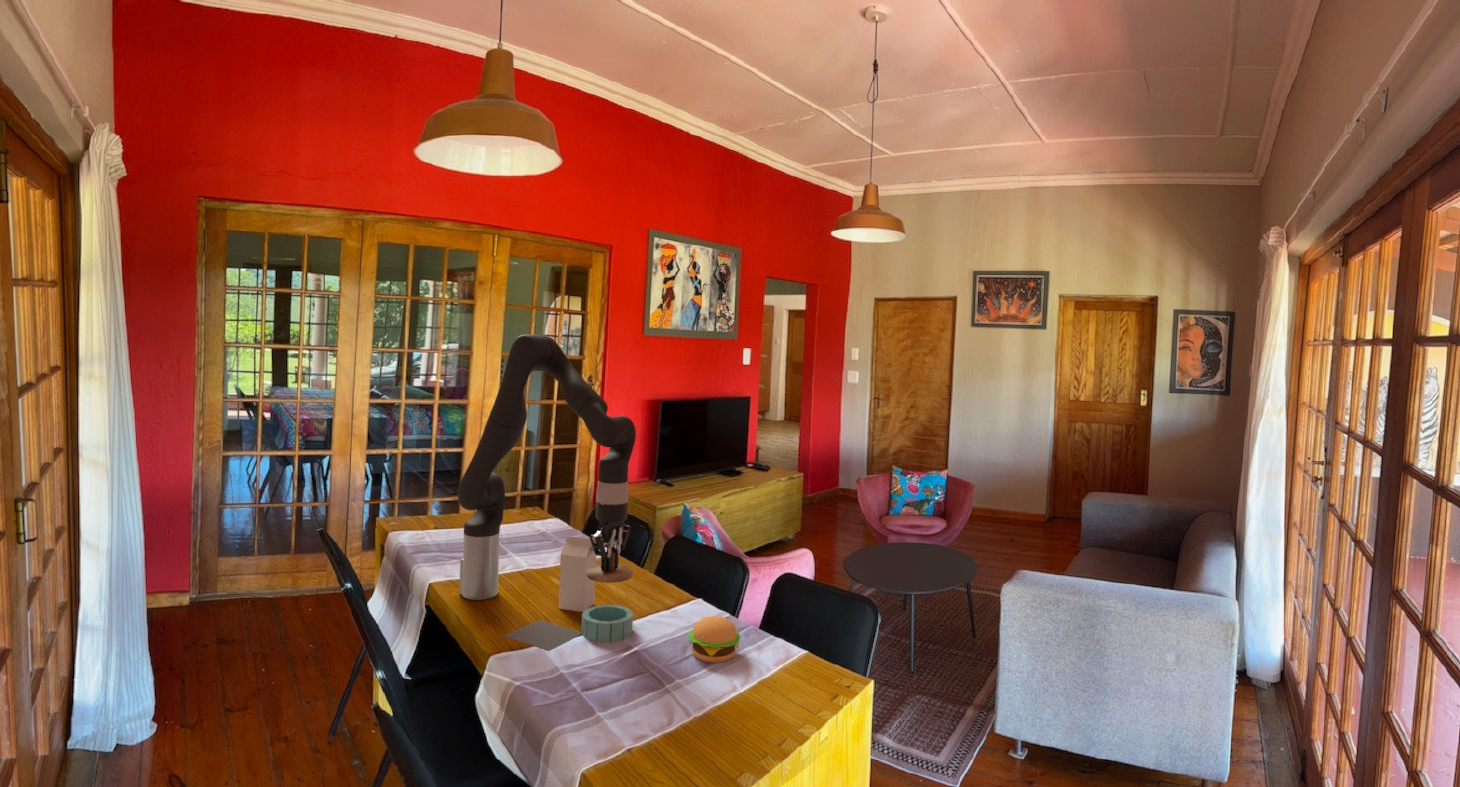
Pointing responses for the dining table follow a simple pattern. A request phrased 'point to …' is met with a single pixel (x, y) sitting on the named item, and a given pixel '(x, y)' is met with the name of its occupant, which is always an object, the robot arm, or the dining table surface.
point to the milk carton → (576, 574)
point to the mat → (543, 635)
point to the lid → (614, 574)
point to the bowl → (607, 623)
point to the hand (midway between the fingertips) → (609, 569)
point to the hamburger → (714, 639)
